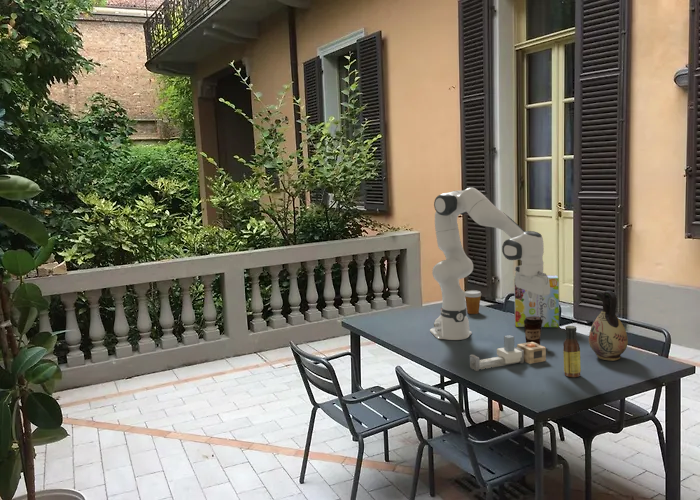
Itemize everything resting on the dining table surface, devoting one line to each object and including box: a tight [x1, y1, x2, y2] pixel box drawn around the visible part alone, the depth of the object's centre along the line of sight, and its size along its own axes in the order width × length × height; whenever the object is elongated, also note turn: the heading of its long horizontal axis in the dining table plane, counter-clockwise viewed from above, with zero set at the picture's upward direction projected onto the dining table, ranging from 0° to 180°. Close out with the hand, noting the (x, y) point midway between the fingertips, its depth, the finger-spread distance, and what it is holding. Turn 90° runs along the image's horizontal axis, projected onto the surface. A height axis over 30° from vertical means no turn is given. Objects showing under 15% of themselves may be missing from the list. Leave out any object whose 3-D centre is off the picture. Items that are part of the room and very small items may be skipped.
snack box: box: [513, 274, 560, 328], centre depth 311 cm, size 22×9×26 cm, turn 76°
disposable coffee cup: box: [464, 289, 482, 315], centre depth 342 cm, size 10×10×12 cm
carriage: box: [496, 334, 522, 364], centre depth 258 cm, size 8×7×10 cm
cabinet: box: [516, 342, 547, 365], centre depth 262 cm, size 9×8×6 cm
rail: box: [469, 346, 525, 372], centre depth 257 cm, size 5×23×6 cm, turn 109°
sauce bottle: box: [562, 325, 582, 378], centre depth 240 cm, size 6×6×20 cm
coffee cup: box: [524, 316, 543, 345], centre depth 281 cm, size 9×8×13 cm
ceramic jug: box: [588, 290, 629, 361], centre depth 258 cm, size 17×15×30 cm
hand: (532, 301), depth 260 cm, fingers closed
